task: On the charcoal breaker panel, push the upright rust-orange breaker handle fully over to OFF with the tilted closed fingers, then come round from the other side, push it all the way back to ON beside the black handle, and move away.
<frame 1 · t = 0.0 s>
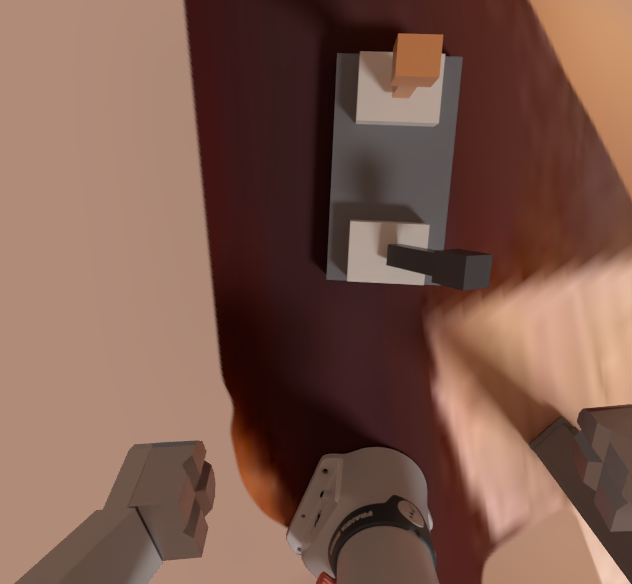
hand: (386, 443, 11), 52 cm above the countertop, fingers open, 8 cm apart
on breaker: (431, 262, 50), point 12 cm above the countertop, hinge at -35.0°
breaker panel: (388, 174, 60), on the countertop
tripped breaker: (408, 72, 45), point 13 cm above the countertop, hinge at 0.0°
cassette tape recorder: (578, 460, 67), on the countertop
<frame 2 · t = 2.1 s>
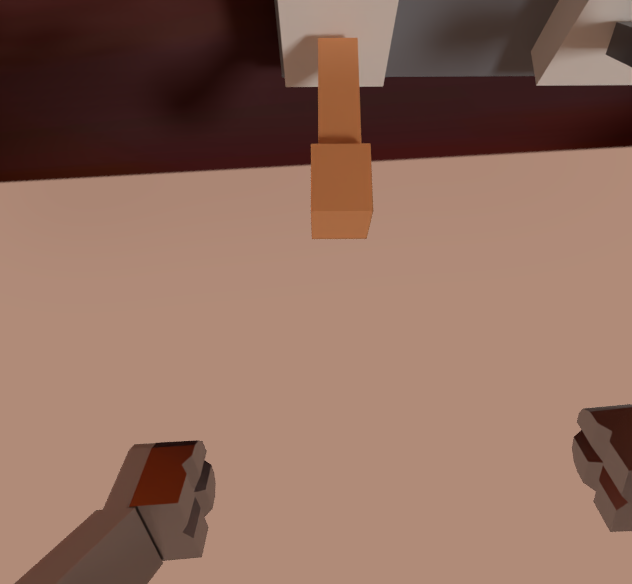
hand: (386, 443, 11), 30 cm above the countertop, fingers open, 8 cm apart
tripped breaker: (338, 132, 28), point 13 cm above the countertop, hinge at 0.0°
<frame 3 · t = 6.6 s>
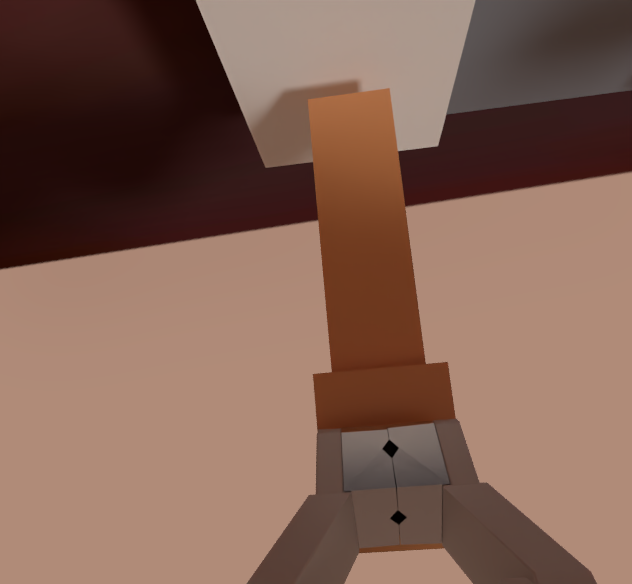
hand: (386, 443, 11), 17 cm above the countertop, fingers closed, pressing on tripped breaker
tripped breaker: (370, 300, 14), point 13 cm above the countertop, hinge at 2.4°, touching gripper
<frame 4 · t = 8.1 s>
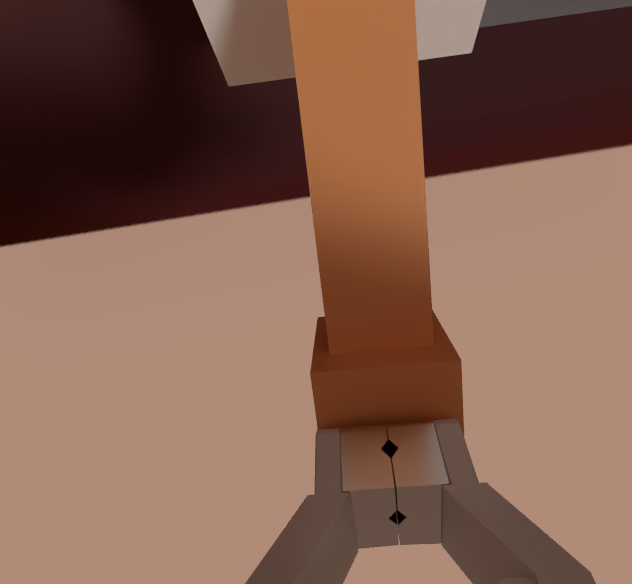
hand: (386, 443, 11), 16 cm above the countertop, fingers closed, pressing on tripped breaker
tripped breaker: (371, 257, 11), point 12 cm above the countertop, hinge at 30.8°, touching gripper
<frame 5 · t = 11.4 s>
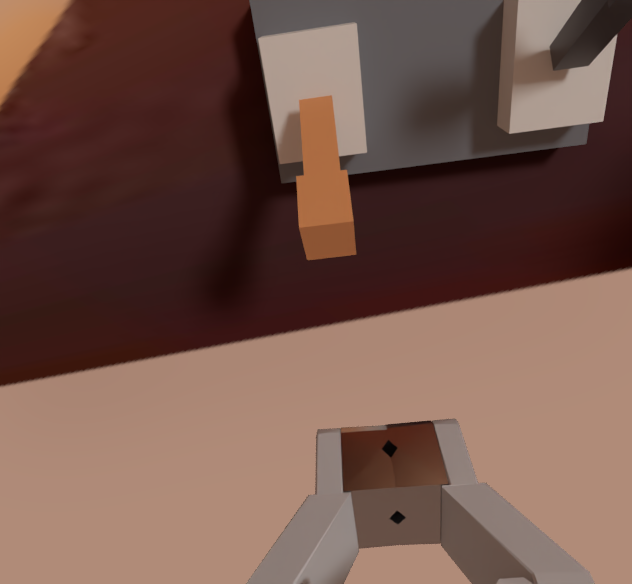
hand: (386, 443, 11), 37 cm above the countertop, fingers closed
breaker panel: (422, 72, 40), on the countertop
tripped breaker: (322, 168, 33), point 12 cm above the countertop, hinge at 30.9°
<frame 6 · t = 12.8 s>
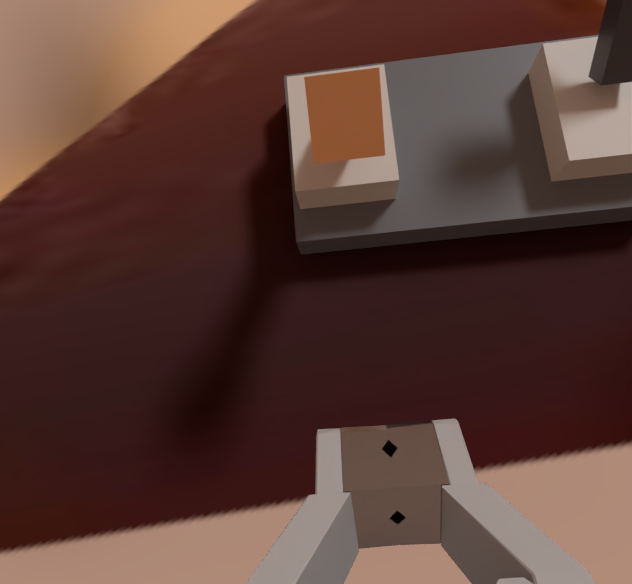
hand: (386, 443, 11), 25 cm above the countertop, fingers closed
breaker panel: (455, 155, 39), on the countertop
tripped breaker: (343, 122, 27), point 12 cm above the countertop, hinge at 30.9°
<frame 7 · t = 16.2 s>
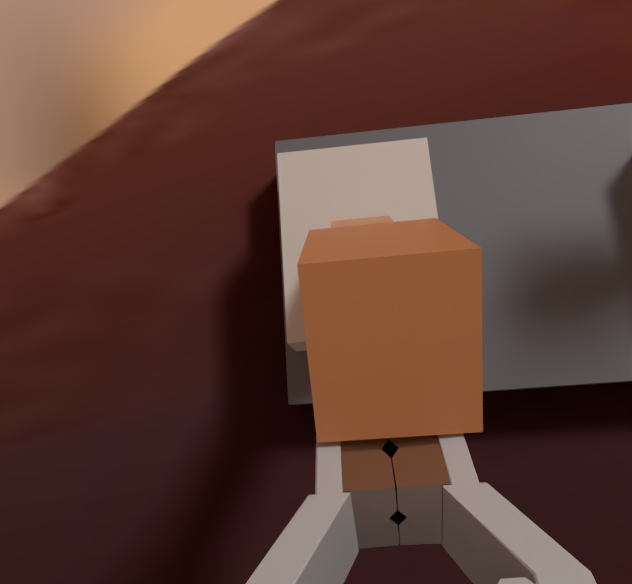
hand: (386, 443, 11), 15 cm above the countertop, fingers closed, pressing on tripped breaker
breaker panel: (522, 258, 27), on the countertop
tripped breaker: (371, 273, 15), point 12 cm above the countertop, hinge at 29.8°, touching gripper
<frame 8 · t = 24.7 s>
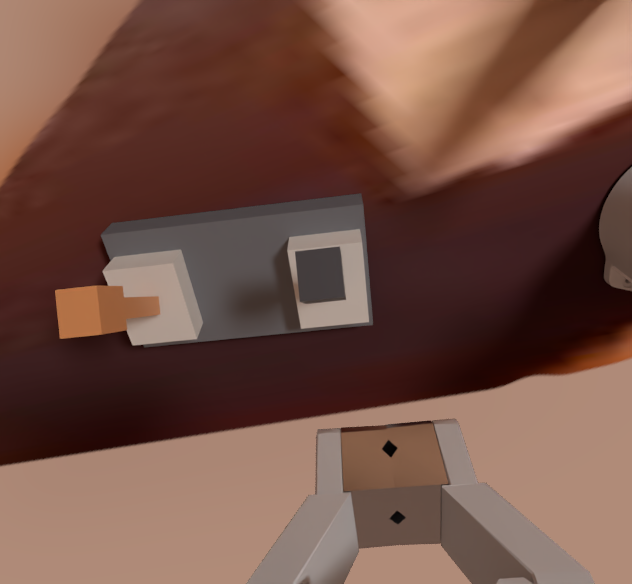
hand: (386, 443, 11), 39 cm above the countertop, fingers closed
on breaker: (325, 281, 40), point 12 cm above the countertop, hinge at -35.0°
breaker panel: (247, 268, 53), on the countertop
tripped breaker: (118, 309, 41), point 12 cm above the countertop, hinge at -30.9°
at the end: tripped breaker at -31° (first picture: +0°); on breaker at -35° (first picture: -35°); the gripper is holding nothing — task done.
